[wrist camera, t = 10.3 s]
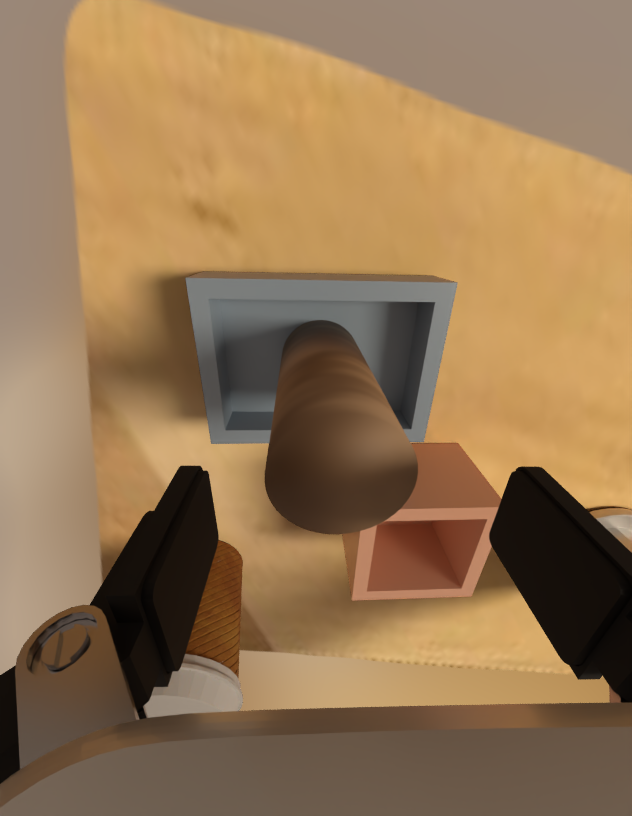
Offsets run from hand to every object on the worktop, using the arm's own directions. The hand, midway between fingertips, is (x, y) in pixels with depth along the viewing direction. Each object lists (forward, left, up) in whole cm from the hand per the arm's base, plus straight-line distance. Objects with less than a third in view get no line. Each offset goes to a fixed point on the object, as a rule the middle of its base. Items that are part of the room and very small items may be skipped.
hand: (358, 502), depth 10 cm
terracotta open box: (-6, +12, -14) cm, 19 cm away
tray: (+1, 0, -14) cm, 14 cm away
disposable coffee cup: (+11, +21, -14) cm, 27 cm away
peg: (0, 0, -13) cm, 13 cm away
